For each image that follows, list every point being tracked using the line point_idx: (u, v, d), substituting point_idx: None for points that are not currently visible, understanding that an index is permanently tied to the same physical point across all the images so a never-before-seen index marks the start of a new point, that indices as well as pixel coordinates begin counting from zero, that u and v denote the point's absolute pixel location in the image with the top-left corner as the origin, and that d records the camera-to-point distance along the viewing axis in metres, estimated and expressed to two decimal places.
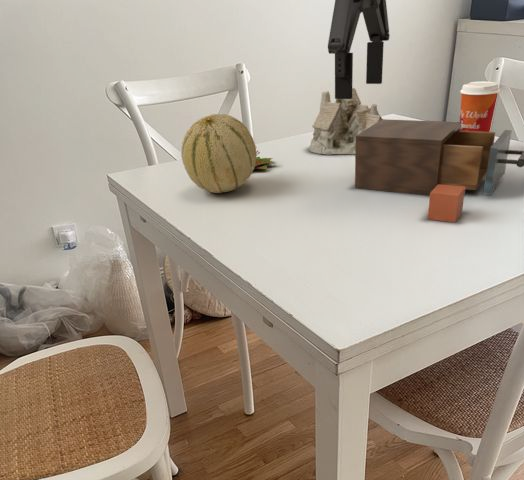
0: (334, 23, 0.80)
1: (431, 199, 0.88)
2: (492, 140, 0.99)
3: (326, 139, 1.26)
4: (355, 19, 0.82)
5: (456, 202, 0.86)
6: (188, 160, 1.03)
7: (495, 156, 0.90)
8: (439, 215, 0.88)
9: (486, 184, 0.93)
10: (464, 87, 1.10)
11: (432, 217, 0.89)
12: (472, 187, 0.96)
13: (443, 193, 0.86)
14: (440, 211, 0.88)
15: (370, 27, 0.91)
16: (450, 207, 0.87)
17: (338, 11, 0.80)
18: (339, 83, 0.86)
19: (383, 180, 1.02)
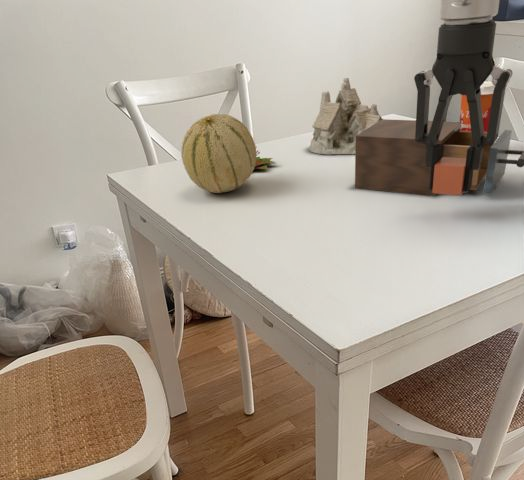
0: (498, 119, 0.78)
1: (436, 171, 0.85)
2: None
3: (326, 139, 1.26)
4: None
5: (462, 174, 0.83)
6: (188, 160, 1.03)
7: (495, 156, 0.90)
8: (444, 188, 0.86)
9: (486, 184, 0.93)
10: None
11: (437, 191, 0.86)
12: (472, 187, 0.96)
13: (448, 165, 0.84)
14: (445, 184, 0.85)
15: (440, 125, 0.83)
16: (455, 179, 0.84)
17: (500, 107, 0.77)
18: (470, 176, 0.84)
19: (383, 180, 1.02)
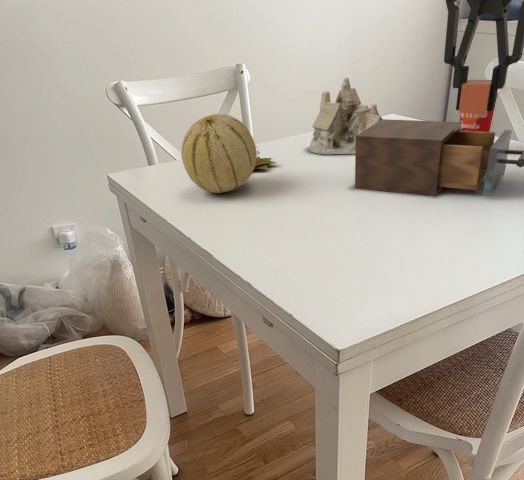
0: (523, 37, 0.84)
1: (463, 90, 0.91)
2: (492, 140, 0.99)
3: (326, 139, 1.26)
4: None
5: (487, 92, 0.89)
6: (188, 160, 1.03)
7: (495, 156, 0.90)
8: (470, 107, 0.92)
9: (486, 184, 0.93)
10: None
11: (463, 110, 0.93)
12: (472, 187, 0.96)
13: (475, 84, 0.90)
14: (471, 103, 0.91)
15: (468, 46, 0.89)
16: (481, 98, 0.90)
17: None
18: (494, 95, 0.91)
19: (383, 180, 1.02)
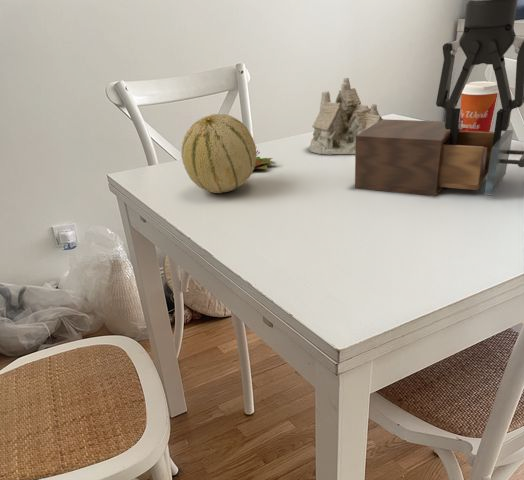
0: None
1: None
2: None
3: (326, 139, 1.26)
4: None
5: None
6: (188, 160, 1.03)
7: (496, 156, 0.90)
8: None
9: (487, 184, 0.93)
10: (464, 87, 1.10)
11: None
12: (473, 187, 0.95)
13: None
14: None
15: (460, 92, 0.93)
16: None
17: None
18: (498, 137, 0.94)
19: (383, 180, 1.02)
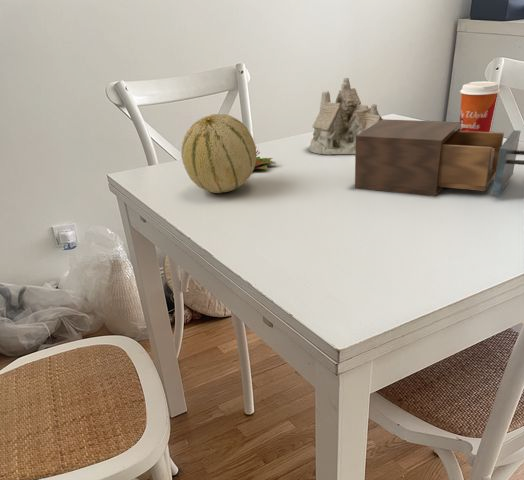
0: None
1: None
2: (501, 140, 0.99)
3: (326, 139, 1.26)
4: None
5: None
6: (188, 160, 1.03)
7: (504, 157, 0.90)
8: None
9: (495, 185, 0.93)
10: (464, 87, 1.10)
11: None
12: (481, 188, 0.95)
13: None
14: None
15: None
16: None
17: None
18: None
19: (383, 180, 1.02)
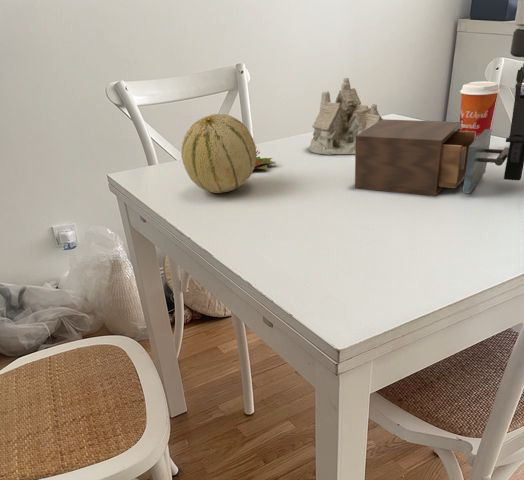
0: None
1: None
2: (472, 139, 1.01)
3: (326, 139, 1.26)
4: None
5: None
6: (188, 160, 1.03)
7: (474, 155, 0.92)
8: None
9: (465, 182, 0.95)
10: (464, 87, 1.10)
11: None
12: (452, 185, 0.97)
13: None
14: None
15: None
16: None
17: None
18: None
19: (383, 180, 1.02)
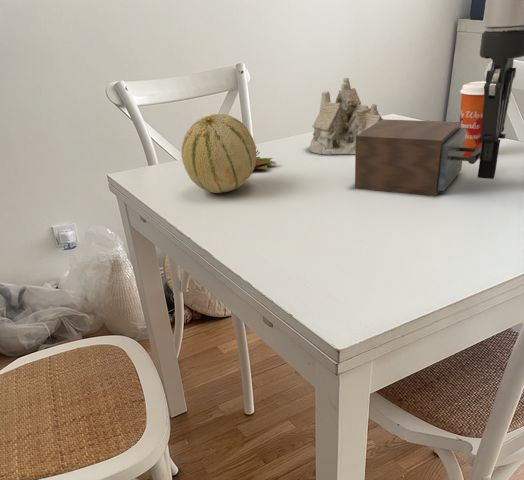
0: None
1: None
2: None
3: (326, 139, 1.26)
4: None
5: None
6: (188, 160, 1.03)
7: (447, 153, 0.94)
8: None
9: (439, 180, 0.97)
10: (464, 87, 1.10)
11: None
12: None
13: None
14: None
15: None
16: None
17: None
18: None
19: (383, 180, 1.02)
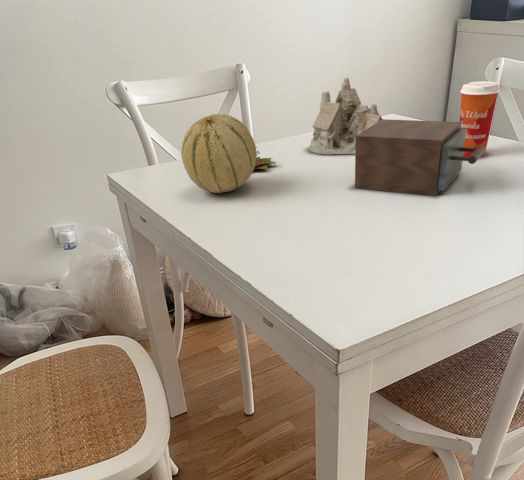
0: None
1: None
2: None
3: (326, 139, 1.26)
4: None
5: None
6: (188, 160, 1.03)
7: (447, 153, 0.94)
8: None
9: (439, 180, 0.97)
10: (464, 87, 1.10)
11: None
12: None
13: None
14: None
15: None
16: None
17: None
18: None
19: (383, 180, 1.02)
